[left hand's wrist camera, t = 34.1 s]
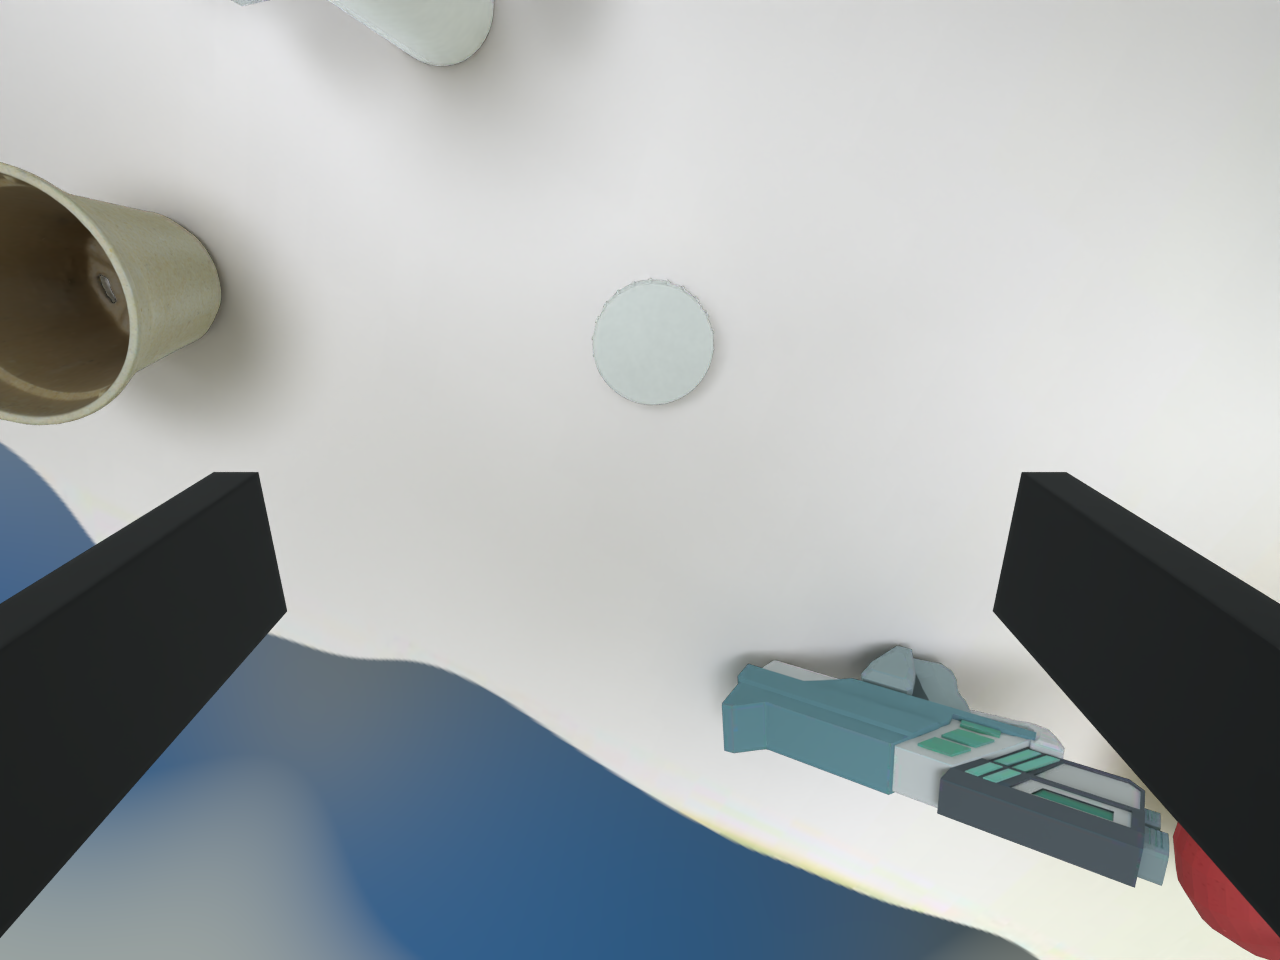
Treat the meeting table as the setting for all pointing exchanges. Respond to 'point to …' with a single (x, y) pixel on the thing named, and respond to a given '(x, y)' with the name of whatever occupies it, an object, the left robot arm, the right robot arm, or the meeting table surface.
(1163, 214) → the meeting table surface
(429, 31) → the white bottle
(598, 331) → the lid
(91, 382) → the flower pot
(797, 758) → the toy gun
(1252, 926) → the mushroom
